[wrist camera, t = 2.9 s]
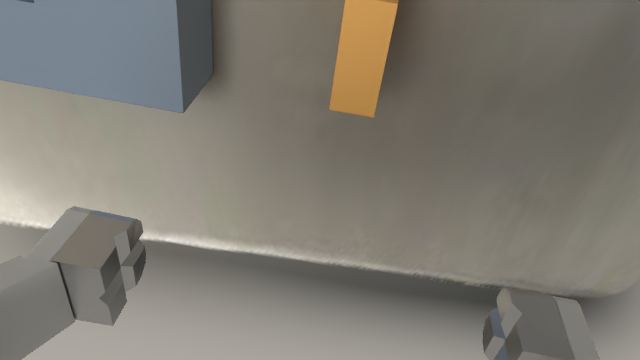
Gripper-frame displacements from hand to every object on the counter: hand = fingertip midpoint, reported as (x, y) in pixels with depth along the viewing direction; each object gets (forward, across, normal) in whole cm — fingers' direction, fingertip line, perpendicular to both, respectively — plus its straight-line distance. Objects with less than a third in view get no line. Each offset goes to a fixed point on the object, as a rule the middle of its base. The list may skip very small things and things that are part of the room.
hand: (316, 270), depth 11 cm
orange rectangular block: (+20, 0, 0) cm, 20 cm away
